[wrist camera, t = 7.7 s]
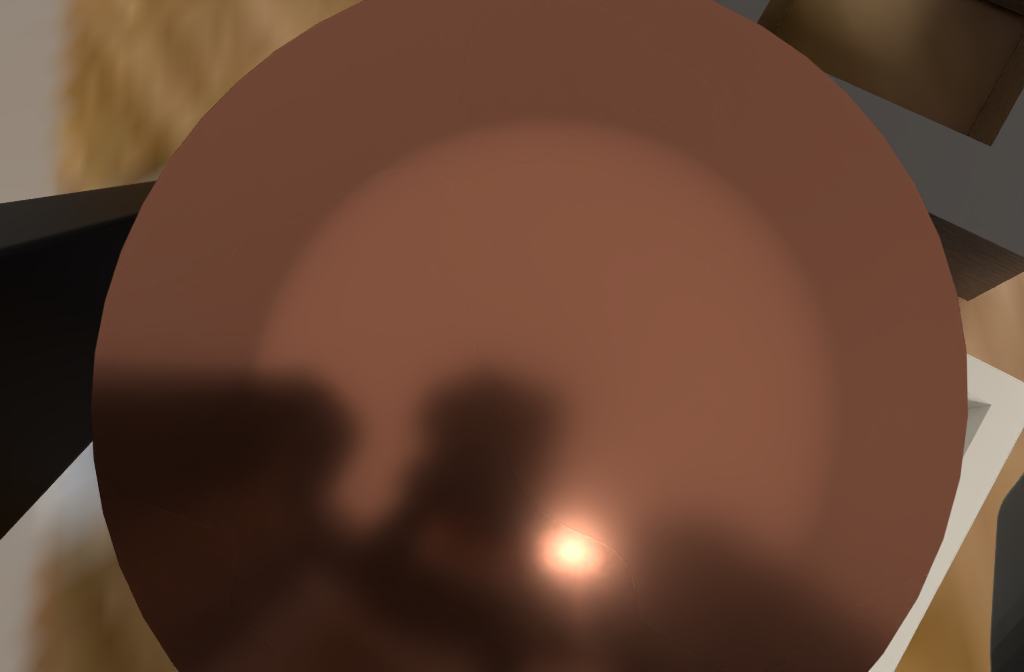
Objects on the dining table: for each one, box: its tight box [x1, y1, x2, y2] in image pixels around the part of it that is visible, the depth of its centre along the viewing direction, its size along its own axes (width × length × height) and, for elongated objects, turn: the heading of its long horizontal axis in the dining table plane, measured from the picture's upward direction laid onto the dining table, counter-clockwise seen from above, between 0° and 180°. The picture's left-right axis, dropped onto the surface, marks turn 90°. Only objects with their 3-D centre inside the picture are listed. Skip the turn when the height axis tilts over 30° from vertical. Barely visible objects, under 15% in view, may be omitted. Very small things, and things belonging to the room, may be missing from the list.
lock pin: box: [91, 0, 968, 672], centre depth 11 cm, size 5×5×13 cm
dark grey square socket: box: [712, 0, 1024, 301], centre depth 17 cm, size 8×8×3 cm
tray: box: [869, 354, 1024, 672], centre depth 16 cm, size 10×12×3 cm
